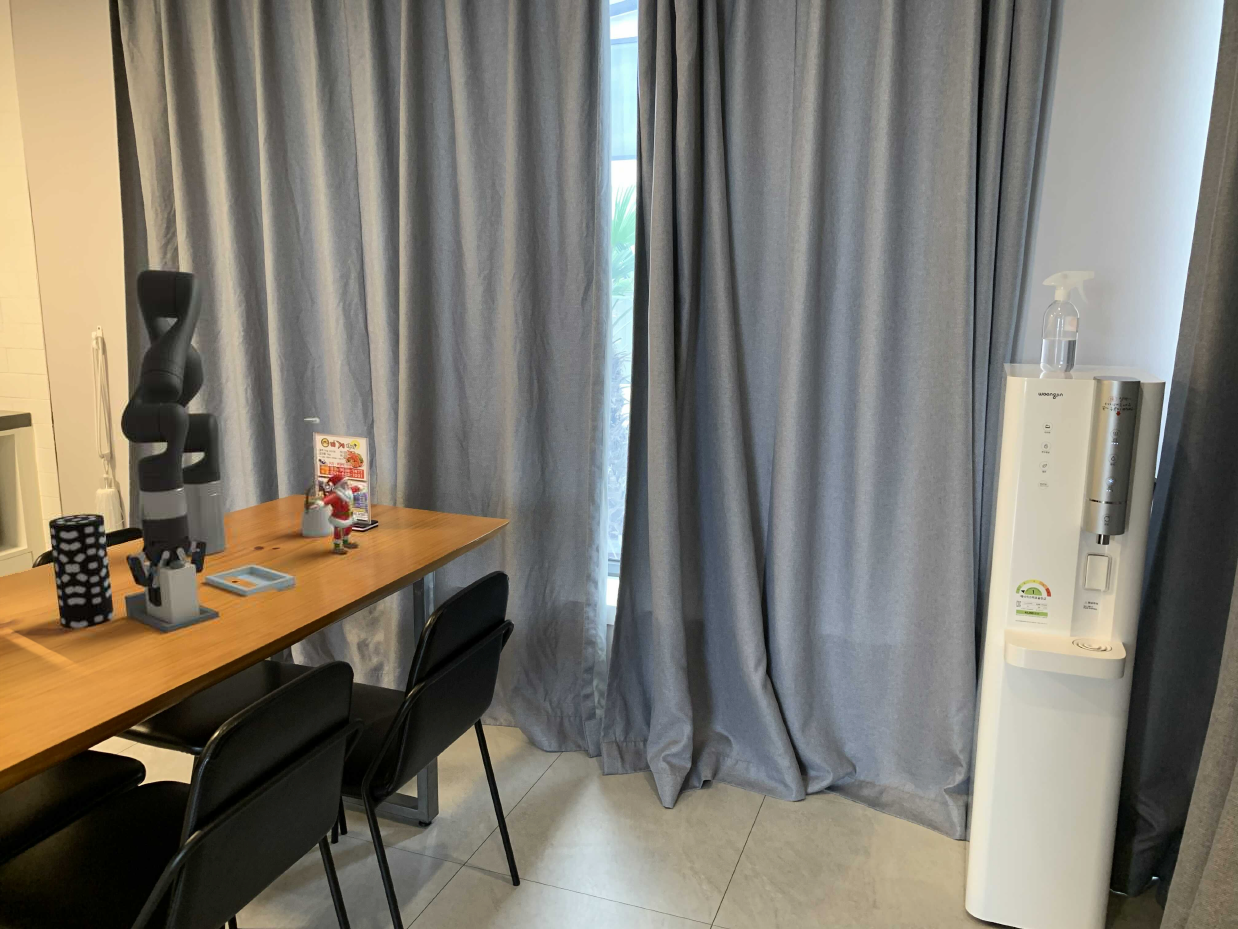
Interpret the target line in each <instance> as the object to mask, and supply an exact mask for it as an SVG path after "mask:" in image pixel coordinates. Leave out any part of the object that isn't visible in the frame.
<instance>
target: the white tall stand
mask: <svg viewBox="0 0 1238 929" xmlns="http://www.w3.org/2000/svg"><path fill="white" fill-rule="evenodd" d="M303 422H304V424H308V425H309V424H311V425H314V424H320V418H316V417H315V418H314V417H313V418H304V419H303ZM313 432H314V431H313V429H311V436H312V438H311V439H312V440H314V435H313V434H314V433H313ZM312 453H313V458H315V452H314V447H312ZM315 468H316V467H315V464H313V472H314V476H316V470H315ZM316 486H319V487H320V489H321V490H322V493H323V494H322V495H323V497H317V496H316V497H312V494H311V493H312V491H313V489H314V488H315V487H316ZM325 496H327V491H326V489H325V486H324V485H321V484H319V483H318V484H317V483H316V481H314V483H313V484H311V485H310V486H309V487H308V488H307V490H306V493H305V500H304V503H303V508H302V509H303V510H302V511H303V512H302V519H301V520H302V521H301V527H300V528H301V529H300V531H301V535H302V536H303V537H306V538H321V537H327V536H331V535H332V534H333V535H334V526H333V525H331V524H330V523H329V521H328V517H329V516H330V515H331V514H332V511H331V505H330V504H329V505H325V506H324V507H323V508H321V509H317V510H316V508H314V509H313V508H312V509H311V508H310V507H311V506H312V505H314V503H315V502H316V501H318V500H320V499H322V498H324V497H325Z"/></svg>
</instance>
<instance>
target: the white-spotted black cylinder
mask: <svg viewBox="0 0 1238 929" xmlns="http://www.w3.org/2000/svg"><path fill="white" fill-rule="evenodd" d="M104 519H105V516H104V515H102V514H97V513H96V514H95V513H86V514H85V513H83V514H81V513H80V514H72V515H66V516H61V517H57V518H53V519H52V520H50V521H48V526H49V534H50V535H49V536H50V543H51V553H52V560H53V568H54V569H53V570H54V577H55V578H54V579H55V586H56V594H57V604H58V612H59V613H58V614H59V620H60V621H59V622H60V623H59V624H60V626H61V628H62V627H63V628H66V629H82V628H83V629H84V628H85V629H86V628H90V627H96V626H99V625H102V624H105V623H107V622H110V621H112V619H114V617H115V614H114V605H113V594H112V585H111V584H112V583H111V574H110V567H109V566H110V565H109V564H110V563H109V556H108V555H109V554H108V547H107V537H106V527H105V520H104Z"/></svg>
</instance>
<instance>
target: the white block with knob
mask: <svg viewBox="0 0 1238 929" xmlns="http://www.w3.org/2000/svg"><path fill="white" fill-rule="evenodd" d="M149 562H150V561H146V562H144V564H143V565H142V566H143V569H144V571H145V574H146V577H147V575H148V572H147V569H148V565H149ZM190 563H191V562H189V563H185V561H184V560H175V561H171V562H170V566H167V567H165V568H163V569H160V576H159V578H160V583H159V586H158V587H160V592H161V602H162V605H161V606H159V607H156V606H154V605H153V604H151V603H150V602H149V597H148V588H147V587H144V591H145V594H146V604H147V614H148V615H150V616H152V617H155V618H157V619H160V620H162V621H164V622H167V623H169V624H171V623H175V622H178V621H181V620H185V619H188V618H191V617H195V616H198V615H200V613H199V605H200V603H199V592H198V580H197V579H198V578H197V574H196V566H195V565H193V564H190ZM152 568H153V569H155V570H156V569H157V567H156V566H152Z"/></svg>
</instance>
